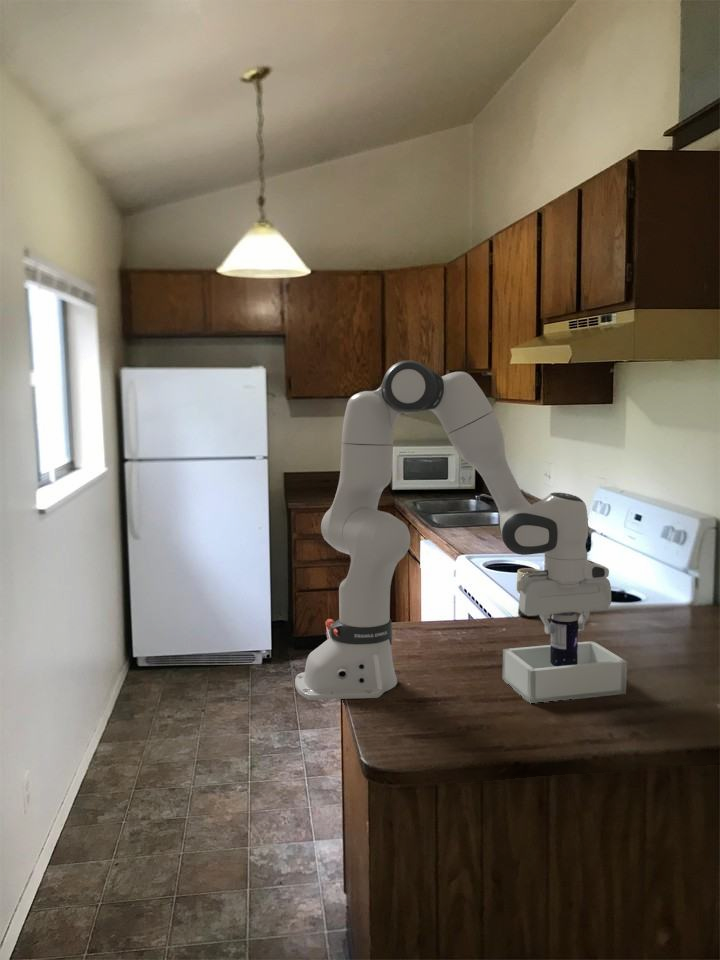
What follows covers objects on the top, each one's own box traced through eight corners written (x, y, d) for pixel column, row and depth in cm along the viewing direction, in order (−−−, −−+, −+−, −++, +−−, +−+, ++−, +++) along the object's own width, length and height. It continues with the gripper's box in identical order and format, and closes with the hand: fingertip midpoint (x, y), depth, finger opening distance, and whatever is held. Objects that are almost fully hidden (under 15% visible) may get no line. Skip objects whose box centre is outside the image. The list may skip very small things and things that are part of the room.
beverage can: (578, 672, 169) (579, 617, 167) (550, 670, 170) (551, 616, 169) (576, 663, 174) (577, 609, 173) (549, 661, 175) (550, 608, 174)
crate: (529, 704, 163) (530, 671, 162) (502, 679, 177) (502, 649, 176) (626, 693, 168) (627, 661, 168) (592, 670, 182) (592, 641, 181)
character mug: (531, 609, 231) (532, 565, 229) (551, 615, 225) (552, 570, 224) (506, 616, 224) (507, 571, 223) (526, 622, 219) (527, 576, 217)
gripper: (527, 575, 164) (526, 640, 166) (616, 568, 169) (614, 632, 170) (514, 568, 170) (513, 631, 172) (600, 562, 175) (598, 623, 177)
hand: (564, 631), depth 171 cm, fingers closed on beverage can, 6 cm apart
